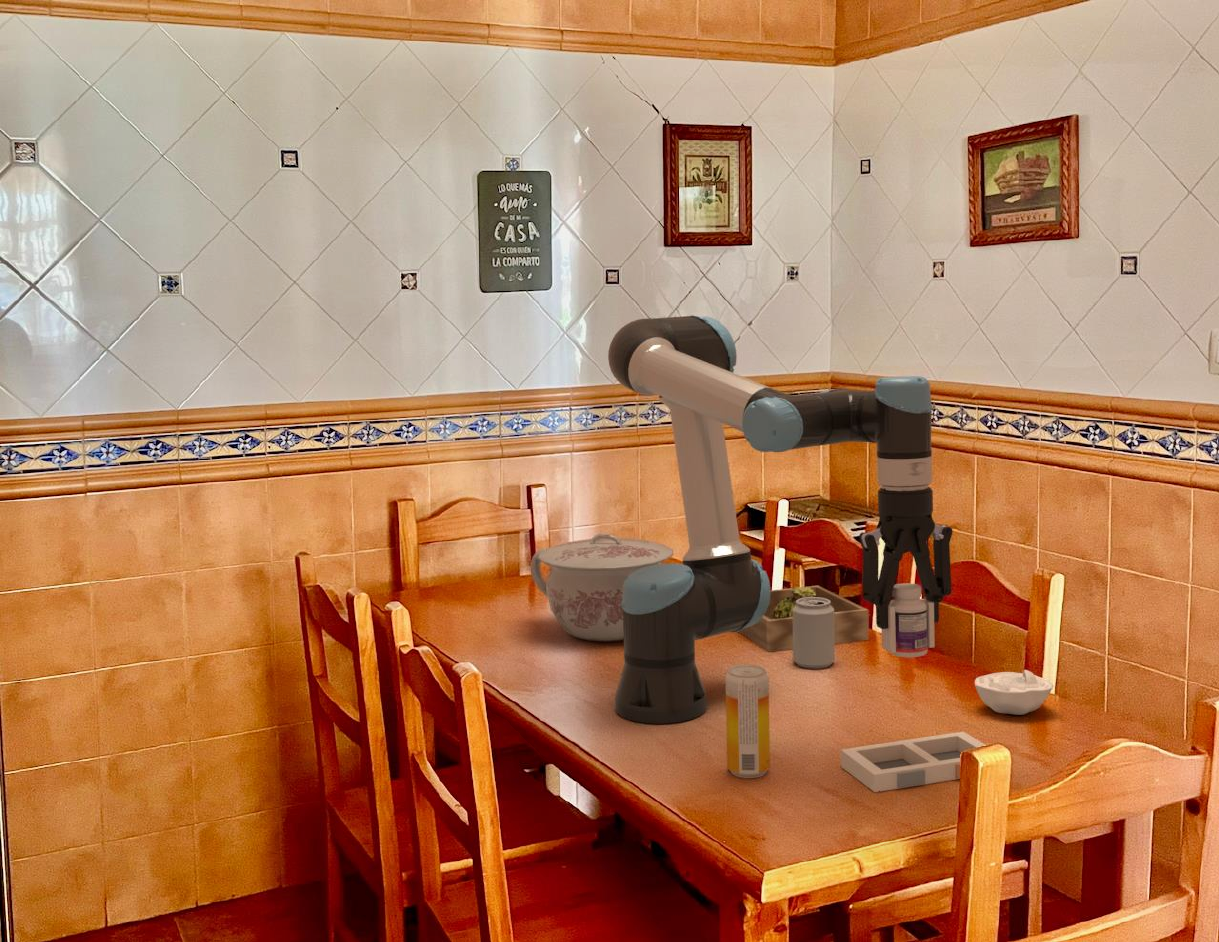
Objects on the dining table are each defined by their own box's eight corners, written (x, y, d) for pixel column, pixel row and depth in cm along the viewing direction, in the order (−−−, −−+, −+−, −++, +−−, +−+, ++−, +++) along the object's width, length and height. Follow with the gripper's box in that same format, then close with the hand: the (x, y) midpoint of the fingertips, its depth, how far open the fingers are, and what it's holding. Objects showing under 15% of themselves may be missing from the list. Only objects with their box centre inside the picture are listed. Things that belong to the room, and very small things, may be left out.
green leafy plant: (843, 647, 237) (843, 598, 235) (760, 645, 240) (759, 596, 239) (846, 623, 253) (846, 577, 252) (768, 621, 257) (767, 576, 255)
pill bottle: (887, 648, 180) (885, 582, 178) (925, 647, 179) (924, 581, 178) (890, 658, 174) (889, 590, 173) (929, 657, 173) (928, 589, 172)
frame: (768, 652, 234) (768, 621, 234) (725, 623, 255) (725, 595, 255) (868, 640, 240) (868, 609, 239) (818, 613, 261) (818, 585, 260)
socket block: (876, 793, 168) (876, 775, 167) (840, 766, 178) (840, 749, 177) (1004, 773, 173) (1004, 756, 173) (963, 747, 183) (963, 731, 183)
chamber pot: (698, 640, 244) (696, 537, 241) (567, 660, 234) (563, 552, 231) (642, 609, 269) (640, 515, 266) (522, 625, 259) (518, 528, 256)
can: (834, 670, 222) (833, 605, 220) (791, 669, 223) (791, 604, 222) (835, 658, 229) (834, 595, 227) (794, 657, 231) (793, 594, 229)
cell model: (970, 700, 204) (970, 660, 203) (1046, 702, 202) (1046, 662, 201) (978, 721, 194) (978, 680, 193) (1057, 723, 192) (1058, 681, 191)
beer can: (766, 762, 180) (764, 662, 178) (773, 778, 174) (771, 675, 172) (724, 764, 180) (722, 664, 178) (730, 780, 174) (728, 677, 172)
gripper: (857, 495, 168) (861, 661, 170) (977, 484, 172) (979, 646, 175) (833, 488, 175) (837, 648, 178) (949, 478, 180) (951, 634, 182)
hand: (908, 647), depth 176 cm, fingers closed on pill bottle, 5 cm apart
